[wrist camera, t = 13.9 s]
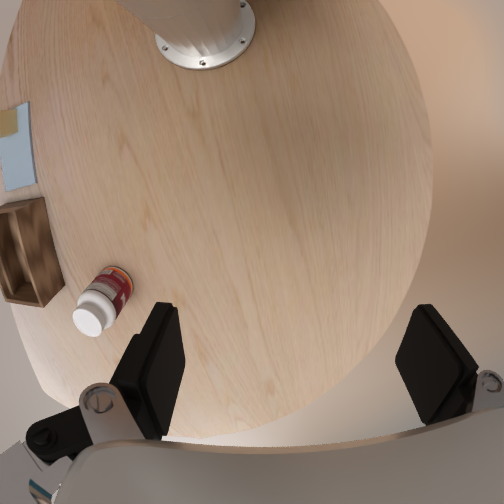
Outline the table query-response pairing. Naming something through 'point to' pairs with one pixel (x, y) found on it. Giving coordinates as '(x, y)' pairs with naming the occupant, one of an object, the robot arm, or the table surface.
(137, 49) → the table surface
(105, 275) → the pill bottle
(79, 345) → the table surface
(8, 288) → the walnut box
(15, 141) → the cover plate
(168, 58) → the robot arm
